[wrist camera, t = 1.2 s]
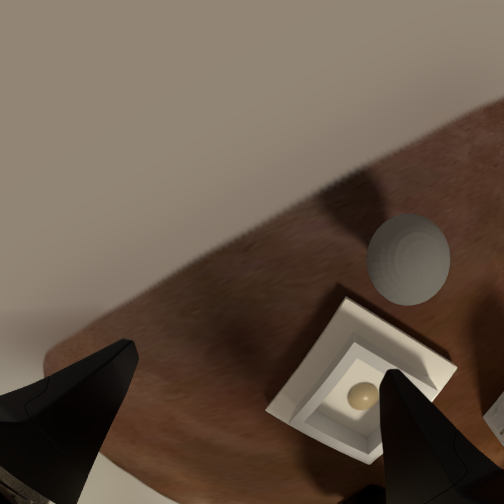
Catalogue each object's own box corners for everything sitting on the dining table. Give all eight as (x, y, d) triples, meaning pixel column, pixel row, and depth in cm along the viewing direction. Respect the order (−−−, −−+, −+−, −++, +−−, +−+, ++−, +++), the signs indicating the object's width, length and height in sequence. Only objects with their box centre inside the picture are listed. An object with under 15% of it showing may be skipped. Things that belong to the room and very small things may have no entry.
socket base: (452, 362, 20) (468, 379, 15) (369, 457, 21) (369, 481, 17) (345, 296, 24) (346, 303, 19) (269, 403, 26) (256, 425, 21)
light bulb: (351, 280, 23) (356, 294, 14) (370, 218, 23) (387, 191, 14) (408, 300, 22) (445, 325, 12) (427, 238, 21) (473, 226, 12)
